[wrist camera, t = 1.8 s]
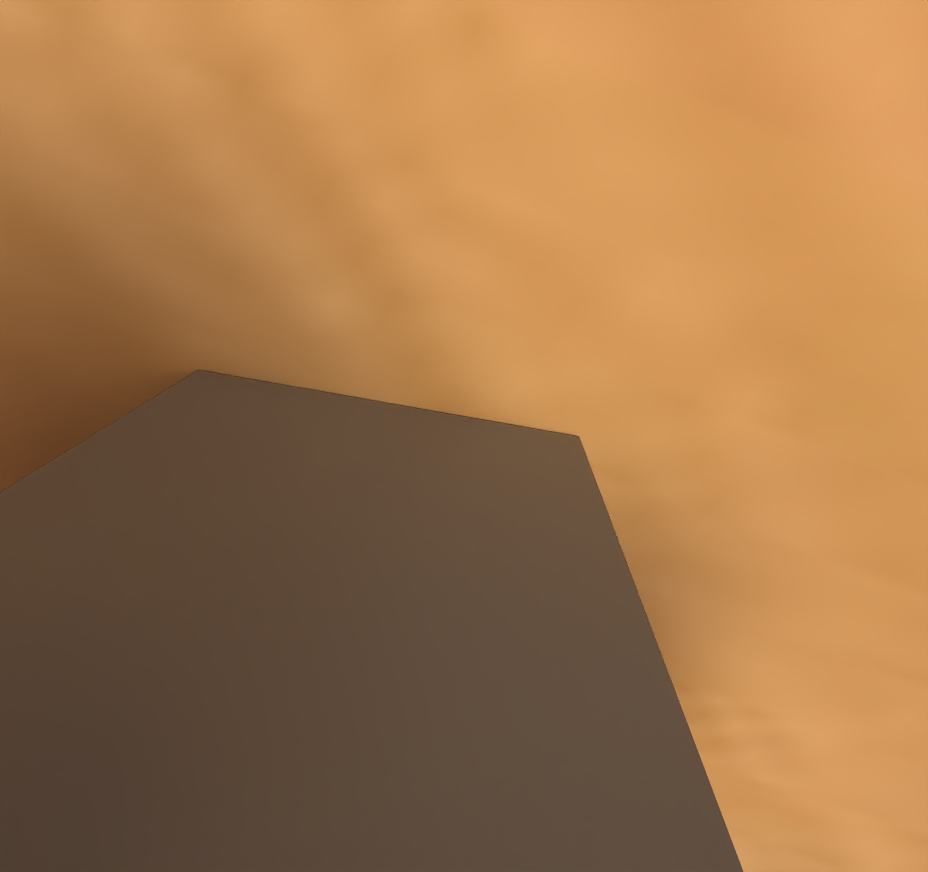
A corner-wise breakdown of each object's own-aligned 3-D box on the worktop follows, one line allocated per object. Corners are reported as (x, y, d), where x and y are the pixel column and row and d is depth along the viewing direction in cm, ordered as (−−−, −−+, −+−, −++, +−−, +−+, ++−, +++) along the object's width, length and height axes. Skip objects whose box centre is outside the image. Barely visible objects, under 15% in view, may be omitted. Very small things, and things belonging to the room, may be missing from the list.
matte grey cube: (502, 698, 14) (524, 1369, 6) (208, 652, 14) (-177, 1292, 6) (579, 436, 11) (837, 1123, 3) (198, 369, 11) (-699, 925, 3)
